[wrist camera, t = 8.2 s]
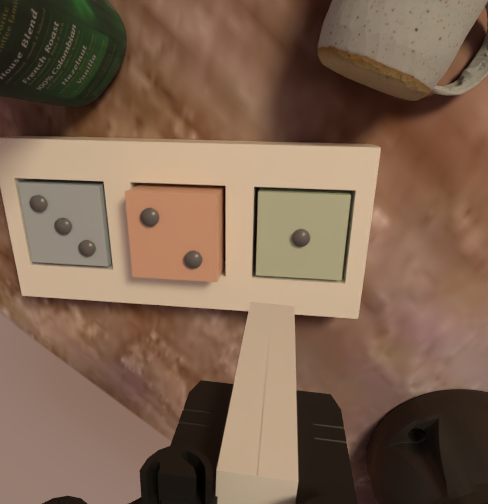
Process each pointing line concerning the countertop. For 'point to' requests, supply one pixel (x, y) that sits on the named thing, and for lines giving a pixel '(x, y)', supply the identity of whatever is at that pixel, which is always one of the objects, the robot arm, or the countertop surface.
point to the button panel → (197, 173)
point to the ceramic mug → (402, 44)
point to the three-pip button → (66, 221)
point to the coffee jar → (59, 50)
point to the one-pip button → (301, 232)
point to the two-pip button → (176, 231)
